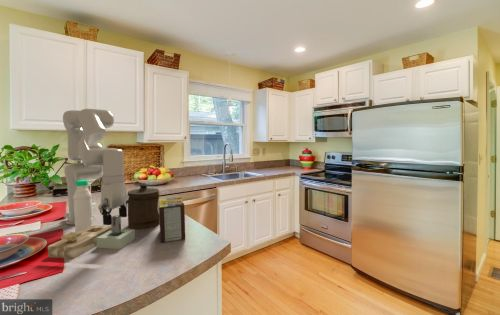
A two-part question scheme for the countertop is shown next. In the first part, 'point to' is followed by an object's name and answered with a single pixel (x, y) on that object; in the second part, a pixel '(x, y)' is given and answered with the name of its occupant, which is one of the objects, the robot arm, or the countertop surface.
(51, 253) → the socket block
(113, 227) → the silver cylinder
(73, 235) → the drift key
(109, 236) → the pale green square block
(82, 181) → the water bottle
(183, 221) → the protein box
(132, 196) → the wooden container
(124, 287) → the countertop surface
